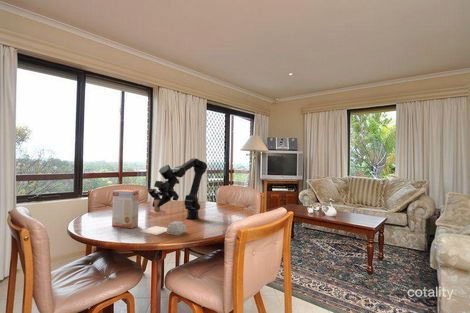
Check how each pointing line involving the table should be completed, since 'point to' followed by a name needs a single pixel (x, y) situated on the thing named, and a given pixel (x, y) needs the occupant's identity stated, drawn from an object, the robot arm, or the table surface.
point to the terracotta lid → (157, 210)
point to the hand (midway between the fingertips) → (155, 206)
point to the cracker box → (125, 208)
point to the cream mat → (155, 230)
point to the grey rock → (176, 228)
